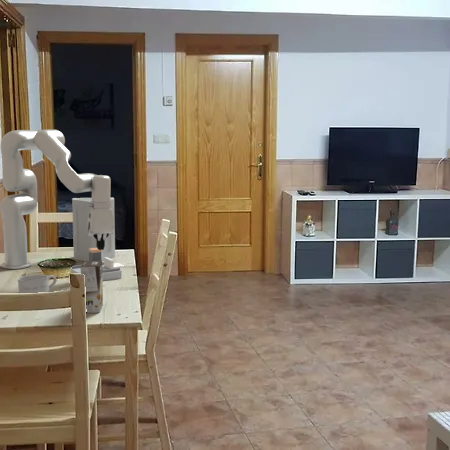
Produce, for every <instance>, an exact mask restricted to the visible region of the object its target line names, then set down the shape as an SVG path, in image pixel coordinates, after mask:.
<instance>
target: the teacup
mask: <svg viewBox="0 0 450 450" xmlns="http://www.w3.org/2000/svg"><path fill="white" fill-rule="evenodd" d="M51 278H53V281H52V283H51V284H49V282H50V280H51ZM57 280H58V279H57V277H56V276H55V275H54V274H50V275H47V274H27V275H24V276H19V277H18V278H17V282H18V284H17V285H18V287H17V288H18V293H19V294H20V293H38V292H48V293H49V291H50V290H51V289H52V288H53V287H54V286H55V285H56V283H57Z"/></svg>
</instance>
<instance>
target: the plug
mask: <svg viewBox="0 0 450 450" xmlns="http://www.w3.org/2000/svg"><path fill="white" fill-rule="evenodd" d="M101 252H102V250H99V249H97V248H89V261H101Z"/></svg>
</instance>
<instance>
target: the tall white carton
mask: <svg viewBox="0 0 450 450" xmlns="http://www.w3.org/2000/svg"><path fill="white" fill-rule="evenodd" d="M71 200H72V201H71V202H72V203H71V205H72V207H71V208H72V236H73V238H72V239H73V241H72V242H73V243H72V244H73V259H74V260H79V261H83V262H84V261H89V248H97V246H96V243H97V240H96V239H95V238H94V237H92V236H89V235H88V232H89V231H88V218H89V212H90V209H92V208H91V206H90V207H89V203H91V201H92V197H80V198H79V197H78V198H77V197H73V198H71ZM110 208H111V209H112V210H113V216H114V217H115V198H114V197H110ZM115 230H116V229H115V222H114V232H113V234H112V235H109V236H108V237H107V238H106V240H105V247H104V250H102V252H101V261H102V262H104V257H108V258H110V259H114V258H116V239H115V238H116V233H115ZM100 238H101V234H100Z"/></svg>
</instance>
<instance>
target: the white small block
mask: <svg viewBox="0 0 450 450" xmlns="http://www.w3.org/2000/svg"><path fill="white" fill-rule="evenodd" d="M103 262H104V266H105V267H107V268H110V269H113V268H120V269H122V268H126V266H125V265H124V264H122V263H119V262H114V259H113V258H111V259H110V258H108V257H104V261H103Z"/></svg>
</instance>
